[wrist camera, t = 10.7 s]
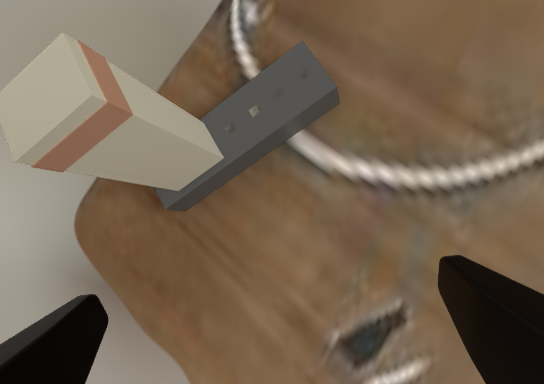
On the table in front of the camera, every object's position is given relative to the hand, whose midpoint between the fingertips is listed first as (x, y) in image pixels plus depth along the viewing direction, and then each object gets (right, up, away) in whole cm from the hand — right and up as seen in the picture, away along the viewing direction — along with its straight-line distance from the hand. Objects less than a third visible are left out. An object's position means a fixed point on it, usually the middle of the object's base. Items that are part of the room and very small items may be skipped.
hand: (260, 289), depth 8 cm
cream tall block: (-5, +5, +12) cm, 14 cm away
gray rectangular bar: (-2, +6, +14) cm, 16 cm away
